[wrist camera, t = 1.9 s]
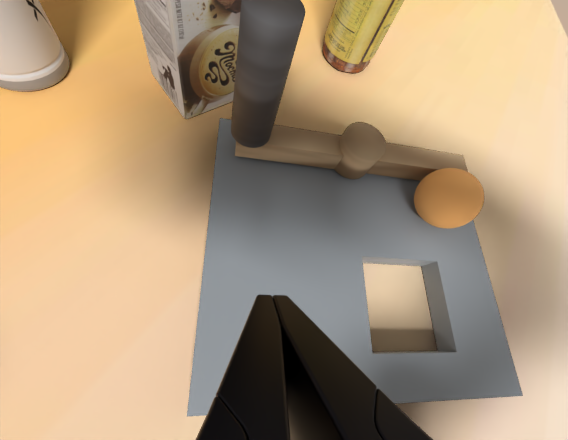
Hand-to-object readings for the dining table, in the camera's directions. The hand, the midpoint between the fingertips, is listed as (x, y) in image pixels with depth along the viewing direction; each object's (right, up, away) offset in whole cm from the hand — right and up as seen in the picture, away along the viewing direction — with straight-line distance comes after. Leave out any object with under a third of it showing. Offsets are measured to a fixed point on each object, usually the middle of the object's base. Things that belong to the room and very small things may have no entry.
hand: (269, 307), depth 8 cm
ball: (+14, +4, +15) cm, 21 cm away
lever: (+6, +8, +17) cm, 20 cm away
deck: (+6, 0, +16) cm, 17 cm away
